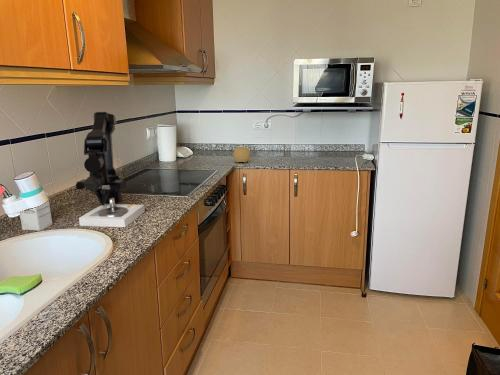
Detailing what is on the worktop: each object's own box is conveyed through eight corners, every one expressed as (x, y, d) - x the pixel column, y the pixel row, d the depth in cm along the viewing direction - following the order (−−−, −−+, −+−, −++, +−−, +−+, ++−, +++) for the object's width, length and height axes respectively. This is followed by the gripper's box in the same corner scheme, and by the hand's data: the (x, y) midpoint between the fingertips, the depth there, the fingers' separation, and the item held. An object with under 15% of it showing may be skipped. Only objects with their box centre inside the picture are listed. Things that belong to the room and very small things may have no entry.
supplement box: (21, 230, 138) (15, 197, 135) (36, 223, 145) (30, 191, 142) (39, 231, 137) (33, 197, 134) (53, 224, 144) (48, 192, 141)
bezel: (79, 225, 142) (78, 217, 141) (104, 210, 159) (103, 203, 158) (125, 227, 139) (124, 218, 138) (144, 211, 157) (144, 204, 156)
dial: (129, 217, 146) (127, 203, 144) (98, 221, 142) (97, 207, 140) (127, 209, 156) (125, 196, 154) (98, 213, 152) (96, 199, 150)
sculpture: (250, 160, 264) (250, 145, 262) (250, 163, 253) (249, 147, 250) (234, 160, 265) (233, 145, 262) (233, 164, 253) (232, 148, 250)
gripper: (64, 171, 143) (70, 210, 146) (110, 172, 140) (115, 212, 144) (81, 165, 153) (86, 202, 157) (124, 166, 150) (128, 203, 154)
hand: (103, 205), depth 153 cm, fingers closed
